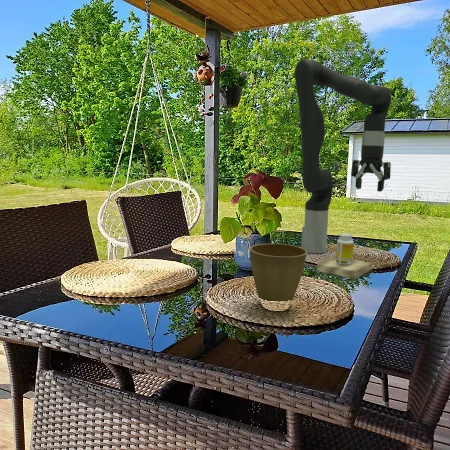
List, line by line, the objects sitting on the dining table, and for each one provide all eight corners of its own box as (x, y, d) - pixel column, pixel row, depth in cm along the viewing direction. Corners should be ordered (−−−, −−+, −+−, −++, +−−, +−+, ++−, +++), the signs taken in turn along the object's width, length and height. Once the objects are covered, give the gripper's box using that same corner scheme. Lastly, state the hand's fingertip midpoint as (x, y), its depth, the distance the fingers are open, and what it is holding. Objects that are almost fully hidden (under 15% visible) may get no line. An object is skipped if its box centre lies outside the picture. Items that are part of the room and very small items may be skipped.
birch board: (316, 271, 159) (316, 263, 159) (333, 263, 170) (334, 256, 169) (355, 278, 151) (355, 271, 150) (371, 269, 162) (371, 263, 161)
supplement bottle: (355, 263, 160) (357, 235, 158) (345, 266, 156) (347, 236, 154) (342, 260, 164) (344, 232, 162) (332, 262, 160) (334, 234, 159)
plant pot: (267, 321, 114) (269, 258, 111) (238, 302, 127) (239, 245, 124) (315, 312, 121) (318, 252, 118) (283, 295, 134) (285, 241, 131)
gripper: (349, 143, 165) (346, 188, 168) (385, 144, 155) (381, 192, 158) (361, 143, 170) (357, 187, 173) (397, 145, 160) (392, 191, 163)
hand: (369, 190), depth 165 cm, fingers open, 8 cm apart
